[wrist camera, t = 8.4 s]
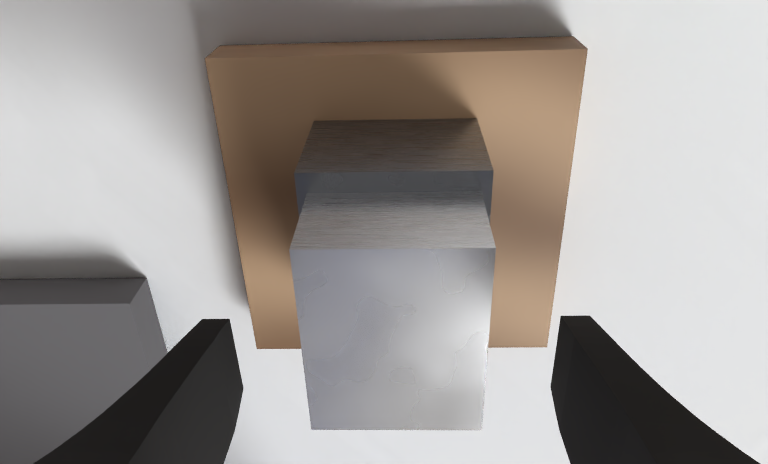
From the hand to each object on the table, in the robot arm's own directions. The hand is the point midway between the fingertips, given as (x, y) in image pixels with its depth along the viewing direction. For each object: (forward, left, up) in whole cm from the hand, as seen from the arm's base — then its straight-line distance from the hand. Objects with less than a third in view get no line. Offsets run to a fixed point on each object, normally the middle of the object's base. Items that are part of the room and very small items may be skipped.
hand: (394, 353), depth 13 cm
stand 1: (-8, +14, -7) cm, 18 cm away
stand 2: (0, 0, -7) cm, 7 cm away
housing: (0, 0, -6) cm, 6 cm away
